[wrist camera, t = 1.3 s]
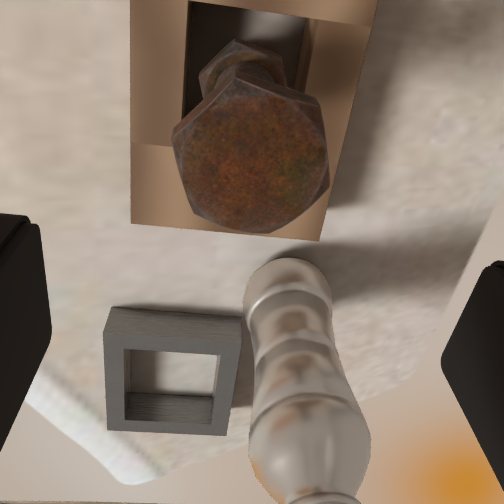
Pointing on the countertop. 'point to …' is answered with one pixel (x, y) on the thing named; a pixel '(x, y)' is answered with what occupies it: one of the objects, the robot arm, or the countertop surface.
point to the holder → (169, 340)
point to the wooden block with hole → (175, 97)
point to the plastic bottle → (301, 391)
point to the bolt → (251, 144)
